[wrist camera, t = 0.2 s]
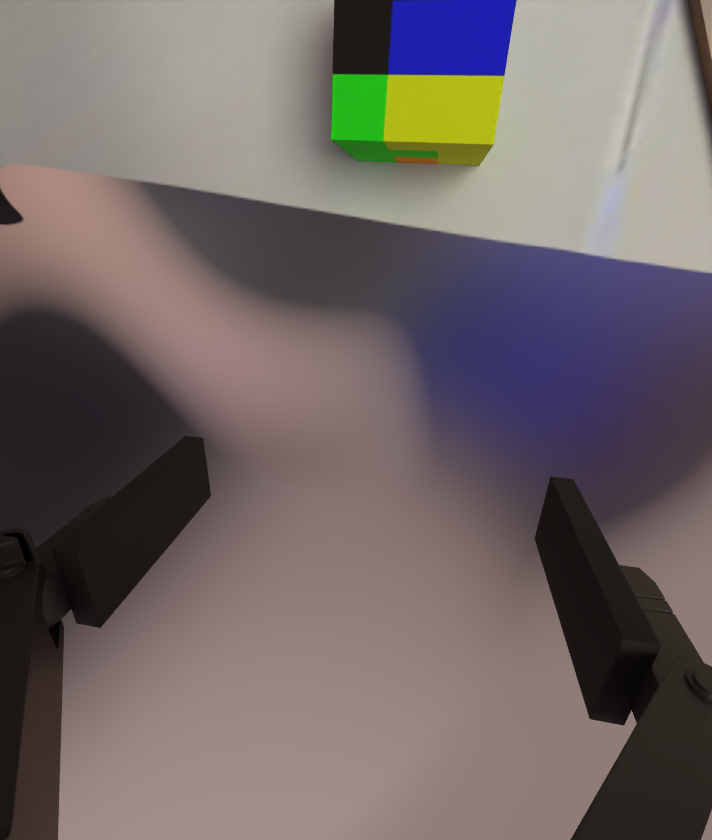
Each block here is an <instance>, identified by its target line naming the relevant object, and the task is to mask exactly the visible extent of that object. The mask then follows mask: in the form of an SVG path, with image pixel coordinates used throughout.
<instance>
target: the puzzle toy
mask: <svg viewBox="0 0 712 840" xmlns="http://www.w3.org/2000/svg"><path fill="white" fill-rule="evenodd" d="M515 5H516V0H334V41H333V85H332V129H331V140H332V141H334V142H335V143H336V144H337V145H339V146H340V147H341V148H342V149H344V150H345V151H346V152H347V153H349V154H350V155H351V156H352V157H354V158H355V159H356V160H357V161H377V162H404V163H431V164H458V165H480V164H481V162H482V161H483V159H484V158H485V156H486V155H487V153H488V152H489V150H490V149H491V147H492V146H493V144H494V138H495V131H496V125H497V119H498V112H499V106H500V100H501V93H502V87H503V81H504V74H505V68H506V62H507V55H508V49H509V43H510V36H511V30H512V24H513V17H514V11H515Z"/></svg>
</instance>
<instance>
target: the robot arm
mask: <svg viewBox="0 0 712 840" xmlns="http://www.w3.org/2000/svg"><path fill="white" fill-rule="evenodd" d="M210 496H211V493H210V485H209V478H208V470H207V463H206V456H205V449H204V441H203V438H198V437H189V436H185V437H184V438H182V439H181V440H180V441H179V442H178V443H177V444H175V445H174V446H173V447H172V448H170V449H169V450H168V451H167V452H166V453H164V454H163V455H162V456H161V457H160V458H158V459H157V460H156V461H155V462H154V463H152V464H151V465H150V466H149V467H148V468H146V469H145V470H144V471H143V472H142V473H141V474H139V475H138V476H137V477H136V478H135V479H133V480H132V481H131V482H130V483H128V484H127V485H126V486H125V487H124V488H123V489H121V490H120V491H119V492H118V493H117V494H115V495H114V496H113V497H109V496H107V497H105V498H103V499H101V500H99V501H97V502H95V503H93V504H91V505H89V506H88V507H87V508H86V509H84V510H83V511H82V512H81V513H80V514H78V517H77V516H76V517H74V518H73V519H72V520H71V521H69V522H68V525H65V526H63V527H62V528H61V529H60V530H58V531H57V532H56V533H55V534H53V535H52V536H51V537H50V538H48V539H47V540H46V541H45V542H43V543H42V544H41V545H40V546H38V547H37V548H35V545H34V543H33V540H32V537H31V534H30V532H29V531H27V530H25V529H17V528H14V529H8V530H3V531H0V840H58V816H59V782H60V750H61V717H62V716H61V714H62V683H63V682H62V681H63V650H64V626H63V622H62V620H61V619H62V617H64V616H65V614H67V613H68V611H69V610H70V609H72V612H73V614H74V617H75V620H76V623H78V624H83V625H88V626H93V627H99V628H101V627H102V625H103V624H104V623H105V622H106V620H107V619H108V618H109V617H110V616H111V614H112V613H113V612H114V611H115V610H116V609H117V608H118V606H119V605H120V604H121V603H122V601H123V600H124V599H125V598H126V597H127V596H128V594H129V593H130V592H131V591H132V589H133V588H134V587H135V586H136V585H137V584H138V582H139V581H140V580H141V579H142V578H143V576H144V575H145V574H146V573H147V572H148V570H149V569H150V568H151V567H152V566H153V564H154V563H155V562H156V561H157V560H158V559H159V557H160V556H161V555H162V554H163V553H164V551H165V550H166V549H167V548H168V547H169V545H170V544H171V543H172V542H173V541H174V539H175V538H176V537H177V536H178V535H179V533H180V532H181V531H182V530H183V529H184V527H185V526H186V525H187V524H188V523H189V521H190V520H191V519H192V518H193V517H194V515H195V514H196V513H197V512H198V511H199V510H200V508H201V507H202V506H203V505H204V504H205V502H206V501H207V500H208V499H209V498H210ZM535 541H536V544H537V548H538V551H539V554H540V558H541V561H542V564H543V568H544V571H545V574H546V577H547V581H548V584H549V587H550V590H551V594H552V597H553V600H554V604H555V607H556V610H557V613H558V617H559V620H560V623H561V626H562V630H563V633H564V636H565V639H566V642H567V646H568V649H569V653H570V656H571V659H572V662H573V665H574V669H575V672H576V676H577V679H578V682H579V685H580V689H581V692H582V695H583V698H584V701H585V705H586V708H587V711H588V714H589V718H590V719H592V720H597V721H603V722H609V723H614V724H619V725H624V724H625V722H626V720H627V718H628V716H629V714H630V712H631V710H632V712H633V714H634V717H635V720H636V722H637V725H636V727H635V728H634V730H633V732H632V734H631V735H630V737H629V739H628V741H627V742H626V744H625V746H624V748H623V749H622V751H621V753H620V755H619V756H618V758H617V760H616V762H615V763H614V765H613V767H612V768H611V770H610V772H609V774H608V775H607V777H606V779H605V781H604V782H603V784H602V786H601V788H600V789H599V791H598V793H597V795H596V796H595V798H594V800H593V802H592V803H591V805H590V807H589V809H588V811H587V812H586V814H585V816H584V817H583V819H582V821H581V823H580V824H579V826H578V828H577V829H576V831H575V833H574V835H573V836H572V838H571V840H701V838H702V835H703V832H704V829H705V827H706V824H707V821H708V818H709V815H710V812H711V810H712V667H711V666H709V665H707V664H705V663H704V662H703V661H702V659H701V657H700V656H699V654H698V652H697V651H696V649H695V647H694V646H693V644H692V642H691V641H690V639H689V638H688V636H687V634H686V633H685V631H684V629H683V628H682V626H681V624H680V623H679V621H678V619H677V618H676V616H675V615H674V614H673V613H672V612H673V611H672V609H671V608H670V606H669V604H668V603H667V601H665V598H664V596H663V595H662V593H661V591H660V590H659V588H658V586H657V585H656V583H655V582H654V581H653V580H652V579H651V578H649V576H647V575H646V574H645V573H644V572H643V571H642V570H641V569H640V568H636V567H629V566H622V565H619V564H618V563H617V561H616V559H615V557H614V555H613V553H612V551H611V549H610V547H609V546H608V544H607V542H606V540H605V538H604V536H603V534H602V532H601V530H600V528H599V527H598V525H597V523H596V521H595V519H594V517H593V516H592V513H591V511H590V510H589V508H588V506H587V504H586V502H585V500H584V498H583V496H582V495H581V493H580V491H579V489H578V487H577V485H576V483H575V482H574V479H566V478H557V477H550V481H549V484H548V488H547V492H546V496H545V500H544V504H543V508H542V512H541V516H540V520H539V524H538V527H537V531H536V535H535Z"/></svg>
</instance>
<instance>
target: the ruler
mask: <svg viewBox="0 0 712 840" xmlns="http://www.w3.org/2000/svg"><path fill="white" fill-rule="evenodd" d="M689 5H690V10H691V15H692V20H693V25H694V30H695V35H696V40H697V45H698V50H699V55H700V60H701V65H702V70H703V75H704V80H705V85H706V90H707V95H708V100H709V105H710V110H711V115H712V0H689Z"/></svg>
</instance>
